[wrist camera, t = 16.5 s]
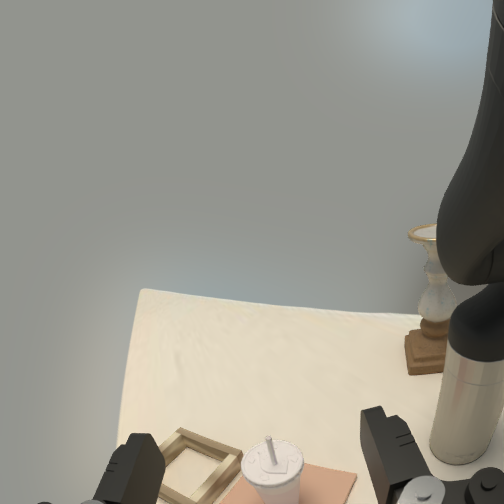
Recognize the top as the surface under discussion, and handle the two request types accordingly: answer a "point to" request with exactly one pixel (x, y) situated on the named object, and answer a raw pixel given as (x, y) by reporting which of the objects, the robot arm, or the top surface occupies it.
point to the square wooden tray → (230, 456)
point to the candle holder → (430, 311)
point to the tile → (302, 487)
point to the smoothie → (274, 470)
